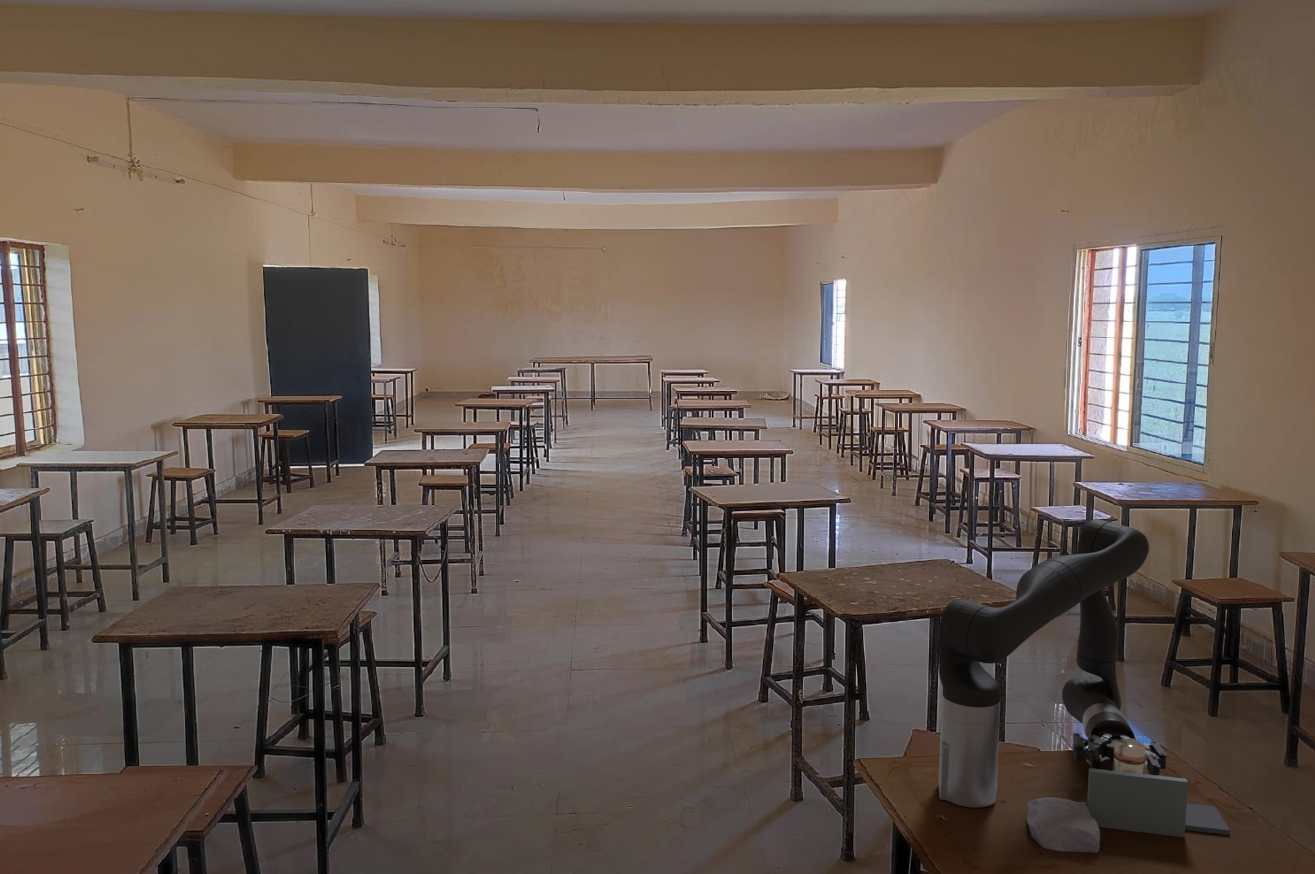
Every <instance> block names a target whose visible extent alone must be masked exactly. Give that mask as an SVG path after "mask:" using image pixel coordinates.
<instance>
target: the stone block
mask: <svg viewBox="0 0 1315 874" xmlns="http://www.w3.org/2000/svg"><path fill="white" fill-rule="evenodd" d="M1026 807H1027V808H1026V809H1027V813H1026V820H1027V821H1026V822H1027V825H1028V829H1029V832H1030V835H1031V838H1033V839H1034V841H1036V843H1037V844H1039V846H1041V847H1042V848H1044V849H1047V850H1053V851H1055V852H1056V851H1057V852H1077V853H1085V854H1086V853H1091V854H1098V853H1099V852H1100V848H1101V847H1100V845H1101V844H1100V843H1101V830H1100V827H1098V824H1097V822H1096V821H1095V819H1094V818H1093V817H1092V816H1091V815H1090V812H1089V810H1088V805H1087V801H1082V802H1080V801H1074V800H1071V799H1066V798H1064V797H1063V798H1062V797H1051V796H1050V797H1049V796H1047V797H1040V798H1034V799H1033V800H1030V801H1029V802H1028V803H1027V806H1026Z"/></svg>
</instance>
